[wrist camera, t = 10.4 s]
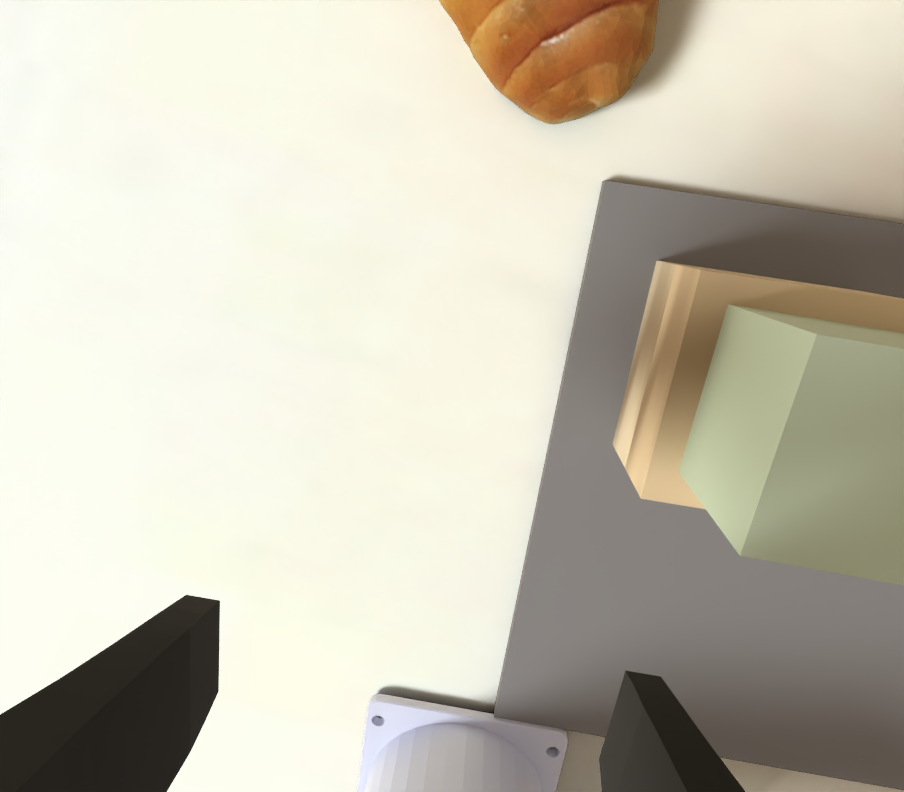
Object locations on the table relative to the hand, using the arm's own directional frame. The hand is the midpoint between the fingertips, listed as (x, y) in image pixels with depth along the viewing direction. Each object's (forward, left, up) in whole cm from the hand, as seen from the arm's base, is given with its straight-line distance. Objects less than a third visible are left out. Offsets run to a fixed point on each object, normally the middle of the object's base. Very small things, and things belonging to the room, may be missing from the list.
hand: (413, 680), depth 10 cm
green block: (+5, -8, -6) cm, 11 cm away
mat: (-1, -11, -10) cm, 15 cm away
